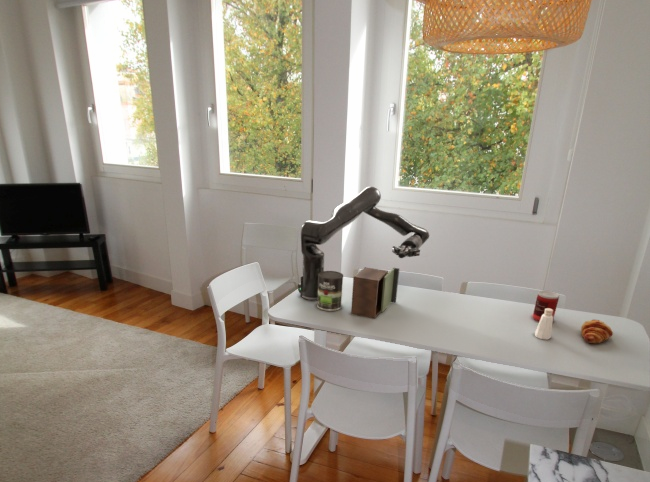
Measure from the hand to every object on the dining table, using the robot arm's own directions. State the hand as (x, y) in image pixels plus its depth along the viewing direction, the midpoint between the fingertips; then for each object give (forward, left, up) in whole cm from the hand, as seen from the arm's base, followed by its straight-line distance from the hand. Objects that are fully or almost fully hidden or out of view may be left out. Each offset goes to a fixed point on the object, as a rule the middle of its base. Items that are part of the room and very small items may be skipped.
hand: (400, 255), depth 200 cm
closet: (-7, -20, -19) cm, 28 cm away
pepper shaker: (+59, -13, -20) cm, 64 cm away
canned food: (+59, +5, -20) cm, 63 cm away
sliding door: (0, -13, -19) cm, 23 cm away
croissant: (+77, -4, -20) cm, 80 cm away
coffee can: (-23, -23, -20) cm, 38 cm away
